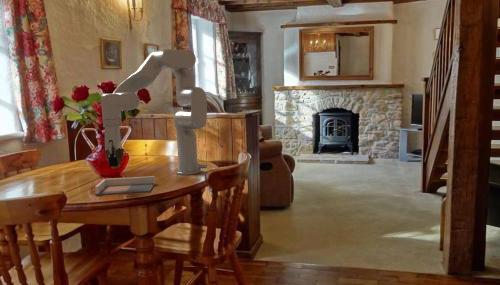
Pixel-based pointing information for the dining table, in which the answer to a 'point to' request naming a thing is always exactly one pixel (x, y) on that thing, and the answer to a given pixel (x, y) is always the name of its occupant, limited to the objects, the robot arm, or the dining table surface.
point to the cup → (118, 154)
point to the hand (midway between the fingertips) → (115, 164)
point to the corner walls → (123, 182)
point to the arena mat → (127, 189)
